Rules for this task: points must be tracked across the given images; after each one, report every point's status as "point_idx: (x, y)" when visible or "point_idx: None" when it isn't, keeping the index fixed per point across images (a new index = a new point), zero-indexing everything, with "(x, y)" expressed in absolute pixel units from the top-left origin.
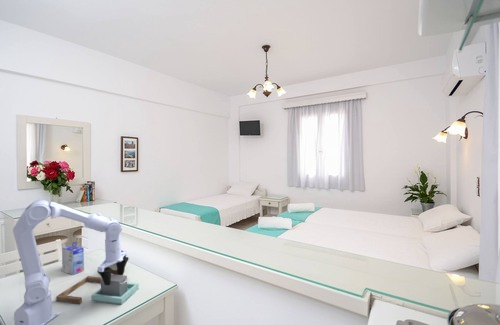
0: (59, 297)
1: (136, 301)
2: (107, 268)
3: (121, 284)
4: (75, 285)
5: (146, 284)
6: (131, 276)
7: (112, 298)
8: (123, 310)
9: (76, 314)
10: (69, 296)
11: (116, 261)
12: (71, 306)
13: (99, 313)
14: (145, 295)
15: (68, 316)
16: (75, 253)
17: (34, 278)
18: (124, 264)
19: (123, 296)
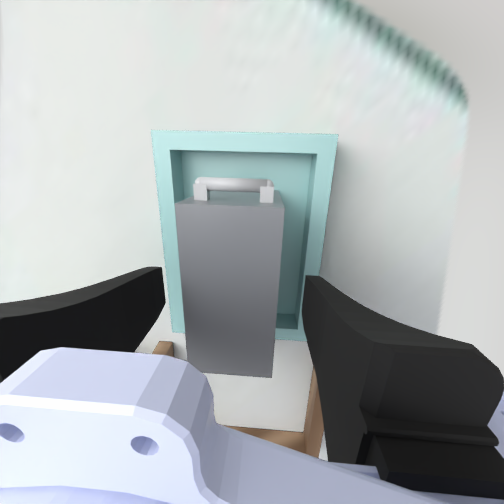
0: (319, 445)
1: (289, 52)
2: (407, 450)
3: (273, 188)
4: None
5: (109, 110)
6: (77, 266)
7: (325, 209)
8: (381, 84)
9: (399, 318)
10: (315, 419)
11: (256, 490)
12: None
13: (400, 218)
14: (219, 24)
15: None
16: None
17: None
18: (74, 301)
19: (311, 138)
